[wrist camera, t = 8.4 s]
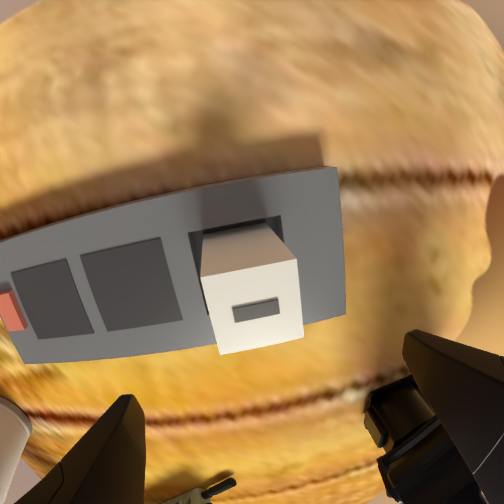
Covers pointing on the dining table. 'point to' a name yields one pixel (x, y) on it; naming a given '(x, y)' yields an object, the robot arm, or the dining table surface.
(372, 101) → the dining table surface
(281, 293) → the block
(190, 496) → the handheld radio
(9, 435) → the travel mug
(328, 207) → the power strip
